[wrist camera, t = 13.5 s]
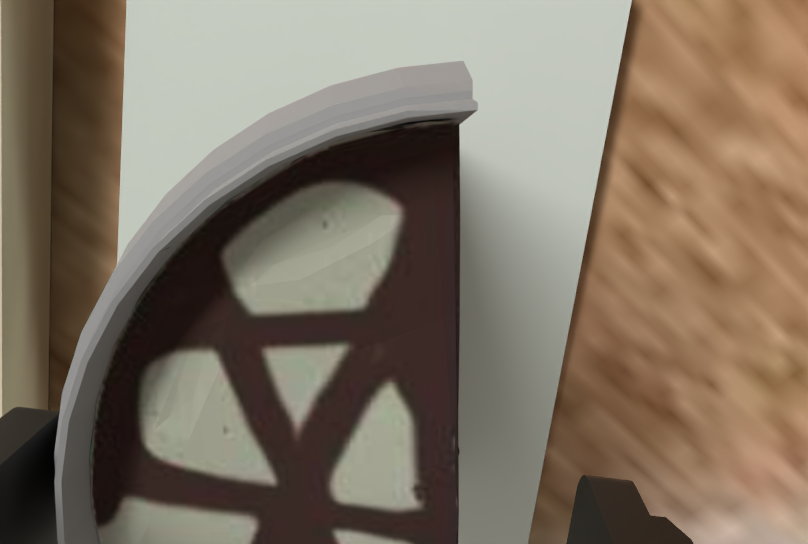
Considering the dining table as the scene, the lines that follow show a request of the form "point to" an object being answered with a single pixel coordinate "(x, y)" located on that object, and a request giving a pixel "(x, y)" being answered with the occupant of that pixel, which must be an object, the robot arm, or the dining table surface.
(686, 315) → the dining table surface
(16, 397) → the frame
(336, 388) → the patterned half cylinder
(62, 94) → the dining table surface
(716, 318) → the dining table surface
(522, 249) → the mat
